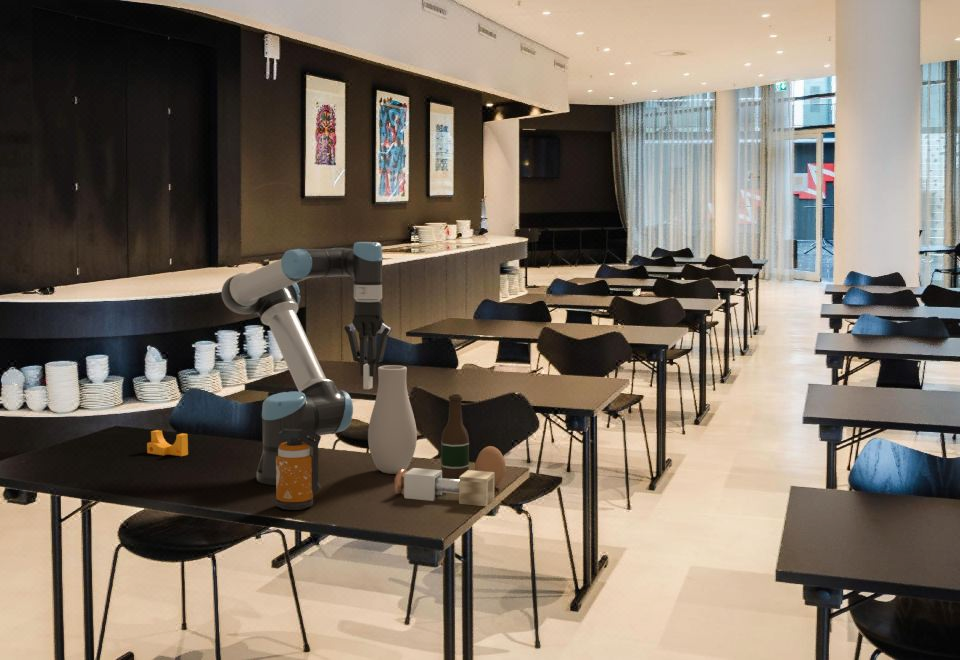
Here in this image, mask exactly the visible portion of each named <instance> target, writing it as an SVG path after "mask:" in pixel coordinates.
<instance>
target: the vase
mask: <svg viewBox="0 0 960 660" xmlns="http://www.w3.org/2000/svg"><path fill="white" fill-rule="evenodd" d="M407 371H408V368H407V366H404V365H395V364H393V365H382V366H379V367H378V368H377V373H378V384H377V392H376V397H375V402H374V405H373V407H372V412H371V416H370V418H369V422H368V423H369V424H368V431H367V442H368V449H369V452H370V456H371V458H372V459H371V460H373V462H374V465H375V466H376V468H377V470H379V471H381V472H382V473H384V474H391V475H393V474H395V475H396V473H397V471H398V469H406V470H407V469H408V468H409V467H410V464H411V463H412V460H413V457H414V454H415V451H416V448H417V447H416V446H417V442H418V441H417V440H418V438H417V437H418V433H417V426H416V420H415V417H414V416H415V415H414V412H413V407H412V405H411V401H410V398H409V393H408V386H407Z"/></svg>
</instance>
